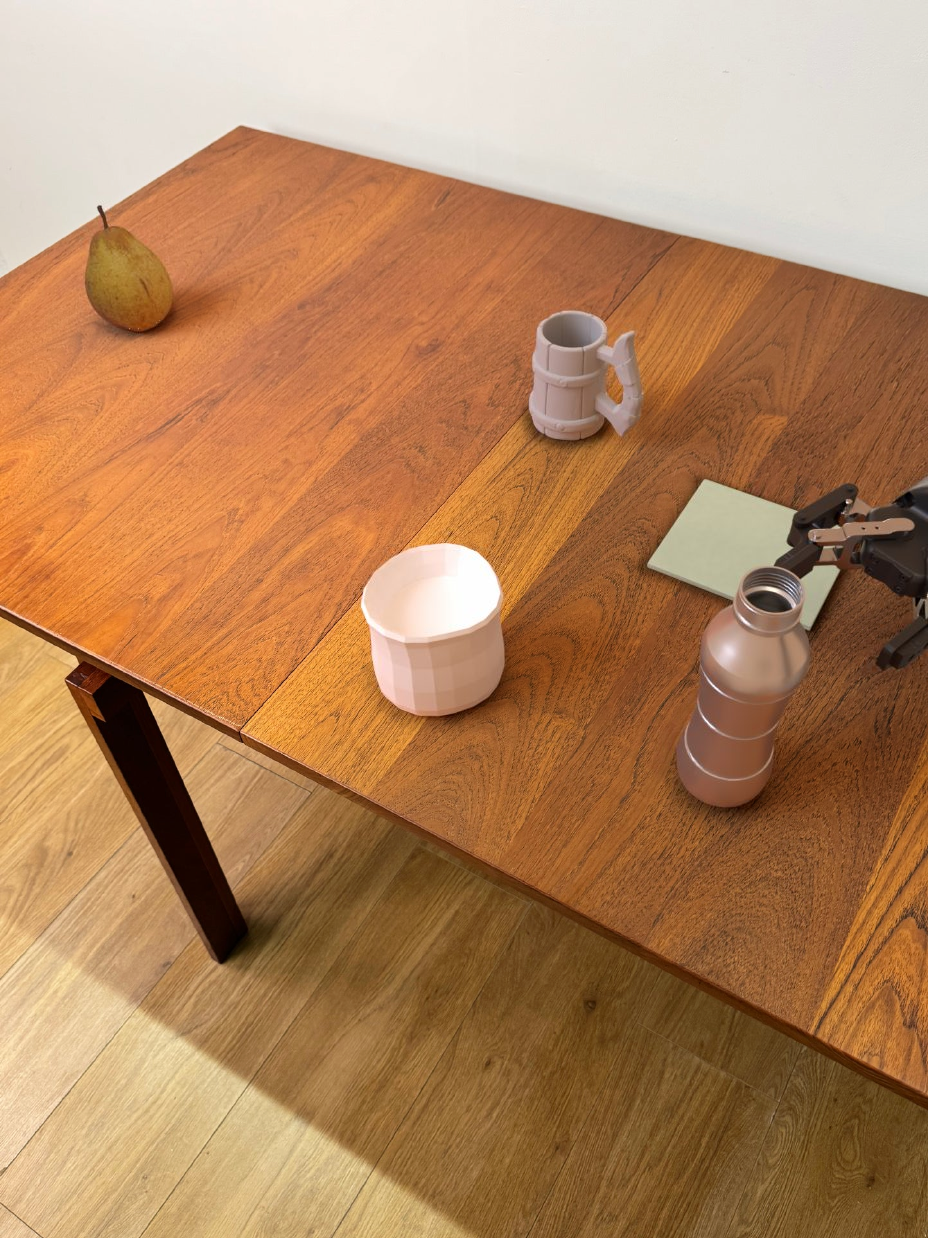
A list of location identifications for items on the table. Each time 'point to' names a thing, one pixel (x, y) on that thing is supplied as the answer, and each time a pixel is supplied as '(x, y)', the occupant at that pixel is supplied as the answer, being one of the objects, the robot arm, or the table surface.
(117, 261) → the fruit
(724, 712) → the metal bottle
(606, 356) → the mug
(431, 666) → the cup
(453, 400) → the table surface
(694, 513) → the mat
